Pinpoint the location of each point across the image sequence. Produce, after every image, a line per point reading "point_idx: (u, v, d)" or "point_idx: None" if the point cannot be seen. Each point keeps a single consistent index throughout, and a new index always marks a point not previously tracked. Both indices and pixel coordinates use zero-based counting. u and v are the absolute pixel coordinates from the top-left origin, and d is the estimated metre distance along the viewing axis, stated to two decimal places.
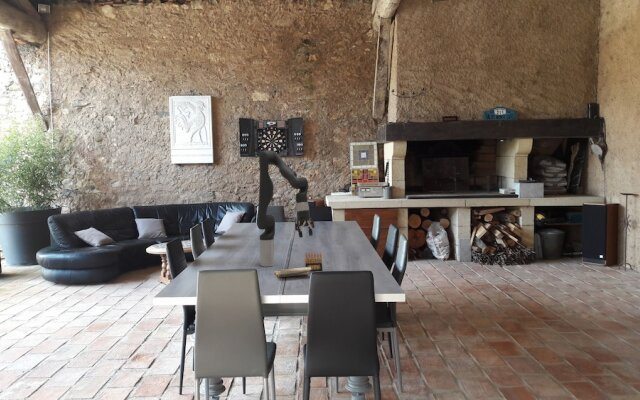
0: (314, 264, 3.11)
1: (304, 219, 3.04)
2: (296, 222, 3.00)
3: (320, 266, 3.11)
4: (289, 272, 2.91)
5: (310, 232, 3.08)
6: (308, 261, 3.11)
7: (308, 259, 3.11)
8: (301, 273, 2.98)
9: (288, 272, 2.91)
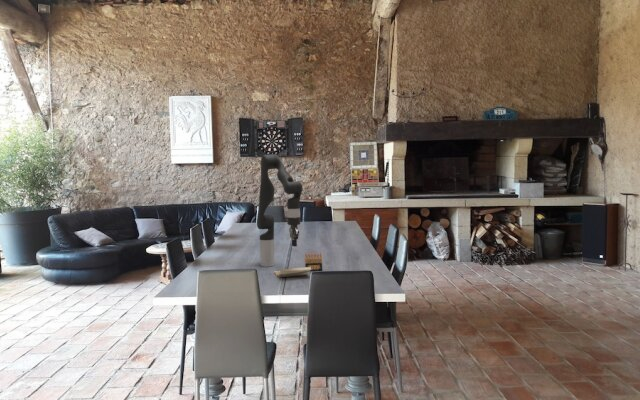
0: (314, 264, 3.11)
1: None
2: (297, 233, 2.86)
3: (320, 266, 3.11)
4: (289, 272, 2.91)
5: None
6: (308, 261, 3.11)
7: (308, 259, 3.11)
8: (301, 273, 2.98)
9: (288, 272, 2.91)
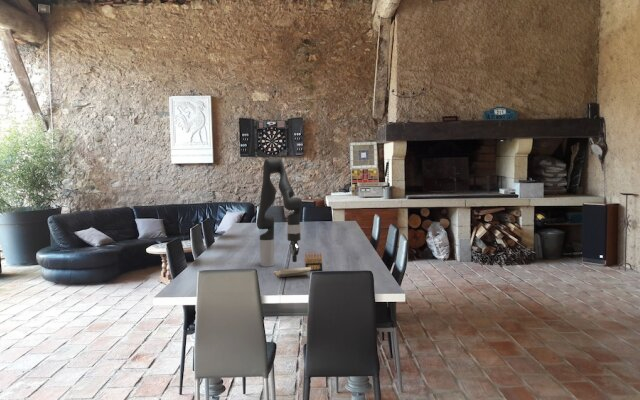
0: (314, 264, 3.11)
1: None
2: (297, 249, 2.87)
3: (320, 266, 3.11)
4: (289, 272, 2.91)
5: None
6: (308, 261, 3.11)
7: (308, 259, 3.11)
8: (301, 273, 2.98)
9: (288, 272, 2.91)
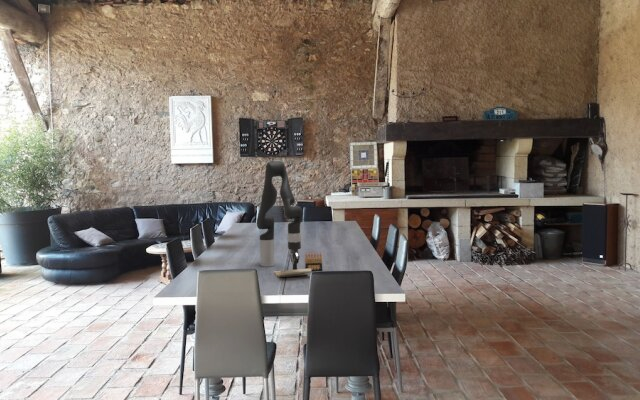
0: (314, 264, 3.11)
1: None
2: (297, 258, 2.87)
3: (320, 266, 3.11)
4: (289, 273, 2.91)
5: None
6: (308, 261, 3.11)
7: (308, 259, 3.11)
8: (301, 274, 2.98)
9: (288, 273, 2.91)
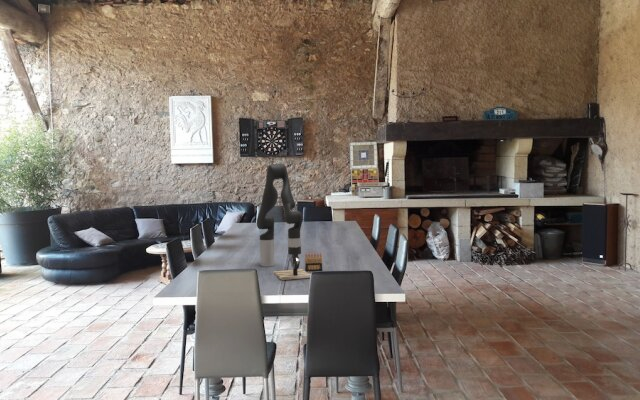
0: (314, 264, 3.11)
1: None
2: (298, 263, 2.87)
3: (320, 266, 3.11)
4: None
5: None
6: (308, 261, 3.11)
7: (308, 259, 3.11)
8: None
9: None
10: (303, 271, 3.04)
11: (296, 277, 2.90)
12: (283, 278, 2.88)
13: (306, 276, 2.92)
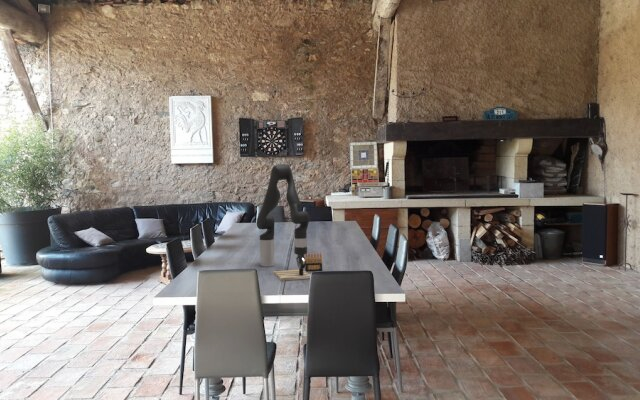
0: (314, 264, 3.11)
1: None
2: (304, 263, 2.89)
3: (320, 266, 3.11)
4: None
5: None
6: (308, 261, 3.11)
7: (308, 259, 3.11)
8: None
9: None
10: (303, 271, 3.04)
11: (296, 278, 2.90)
12: (283, 279, 2.88)
13: (306, 277, 2.92)
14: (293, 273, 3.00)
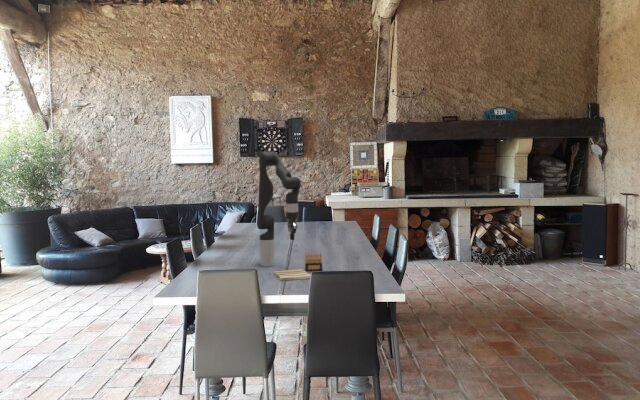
0: (314, 264, 3.11)
1: None
2: (295, 228, 2.93)
3: (320, 266, 3.11)
4: None
5: None
6: (308, 261, 3.11)
7: (308, 259, 3.11)
8: None
9: None
10: (303, 271, 3.04)
11: (296, 278, 2.90)
12: (283, 279, 2.88)
13: (306, 277, 2.92)
14: (293, 273, 3.00)
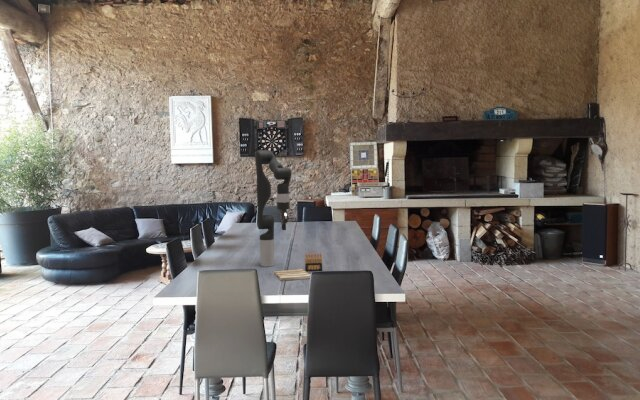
0: (314, 264, 3.11)
1: None
2: (286, 217, 2.96)
3: (320, 266, 3.11)
4: None
5: None
6: (308, 261, 3.11)
7: (308, 259, 3.11)
8: None
9: None
10: (303, 271, 3.04)
11: (296, 278, 2.90)
12: (283, 279, 2.88)
13: (306, 277, 2.92)
14: (293, 273, 3.00)
